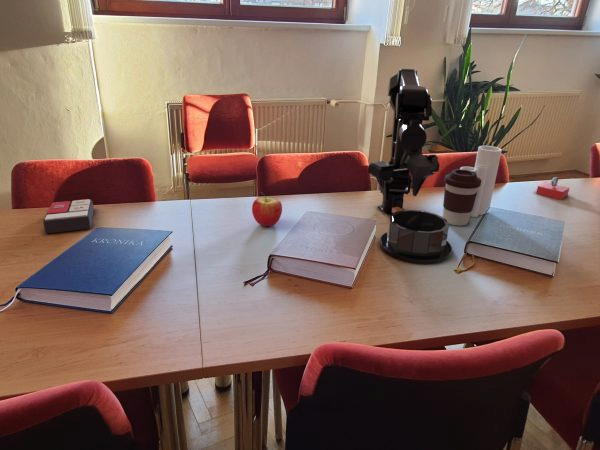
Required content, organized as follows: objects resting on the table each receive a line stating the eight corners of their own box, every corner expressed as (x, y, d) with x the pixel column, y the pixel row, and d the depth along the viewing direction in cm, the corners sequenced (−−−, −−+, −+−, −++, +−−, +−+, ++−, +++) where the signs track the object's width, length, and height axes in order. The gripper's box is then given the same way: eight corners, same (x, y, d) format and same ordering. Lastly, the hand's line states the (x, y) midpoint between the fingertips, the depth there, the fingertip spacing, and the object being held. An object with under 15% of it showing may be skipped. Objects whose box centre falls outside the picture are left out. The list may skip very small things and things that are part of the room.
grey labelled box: (91, 197, 131) (88, 213, 118) (94, 211, 133) (90, 228, 120) (50, 201, 128) (41, 218, 115) (53, 215, 129) (45, 233, 116)
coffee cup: (475, 229, 126) (485, 179, 120) (439, 226, 128) (447, 176, 121) (470, 216, 135) (479, 169, 129) (436, 213, 136) (444, 166, 130)
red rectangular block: (536, 193, 156) (540, 176, 153) (543, 189, 160) (547, 172, 157) (560, 199, 150) (565, 182, 148) (567, 195, 155) (572, 178, 152)
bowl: (370, 231, 120) (372, 209, 117) (414, 224, 125) (417, 203, 123) (408, 260, 106) (412, 236, 103) (456, 250, 111) (460, 227, 108)
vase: (478, 205, 143) (490, 145, 135) (494, 214, 137) (508, 150, 129) (449, 209, 139) (460, 147, 131) (464, 218, 133) (477, 153, 125)
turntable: (366, 238, 119) (367, 234, 118) (421, 228, 126) (422, 224, 125) (406, 269, 104) (407, 265, 103) (466, 257, 110) (467, 252, 110)
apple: (249, 220, 128) (248, 187, 124) (277, 217, 131) (277, 185, 127) (255, 231, 121) (255, 197, 117) (285, 228, 123) (286, 194, 119)
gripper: (395, 151, 101) (388, 213, 108) (458, 144, 108) (448, 204, 115) (369, 140, 111) (364, 198, 117) (429, 134, 118) (421, 190, 124)
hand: (400, 197), depth 118 cm, fingers open, 9 cm apart
